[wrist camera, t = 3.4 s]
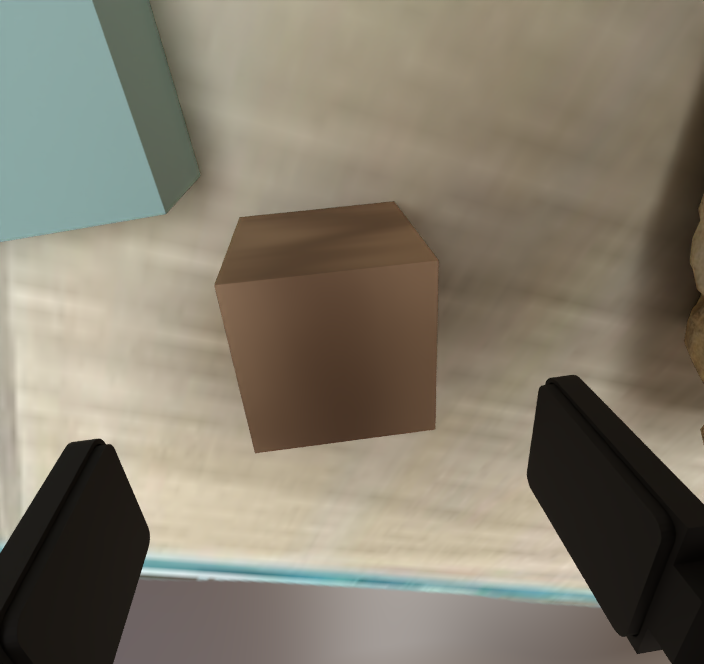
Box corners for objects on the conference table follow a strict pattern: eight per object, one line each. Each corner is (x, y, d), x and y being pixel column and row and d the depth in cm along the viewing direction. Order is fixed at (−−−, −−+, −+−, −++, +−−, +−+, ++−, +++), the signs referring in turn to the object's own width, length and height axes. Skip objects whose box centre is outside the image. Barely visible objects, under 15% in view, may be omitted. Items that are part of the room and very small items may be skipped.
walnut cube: (393, 200, 17) (439, 260, 11) (397, 333, 19) (435, 429, 14) (239, 217, 16) (213, 285, 11) (265, 348, 19) (255, 453, 14)
